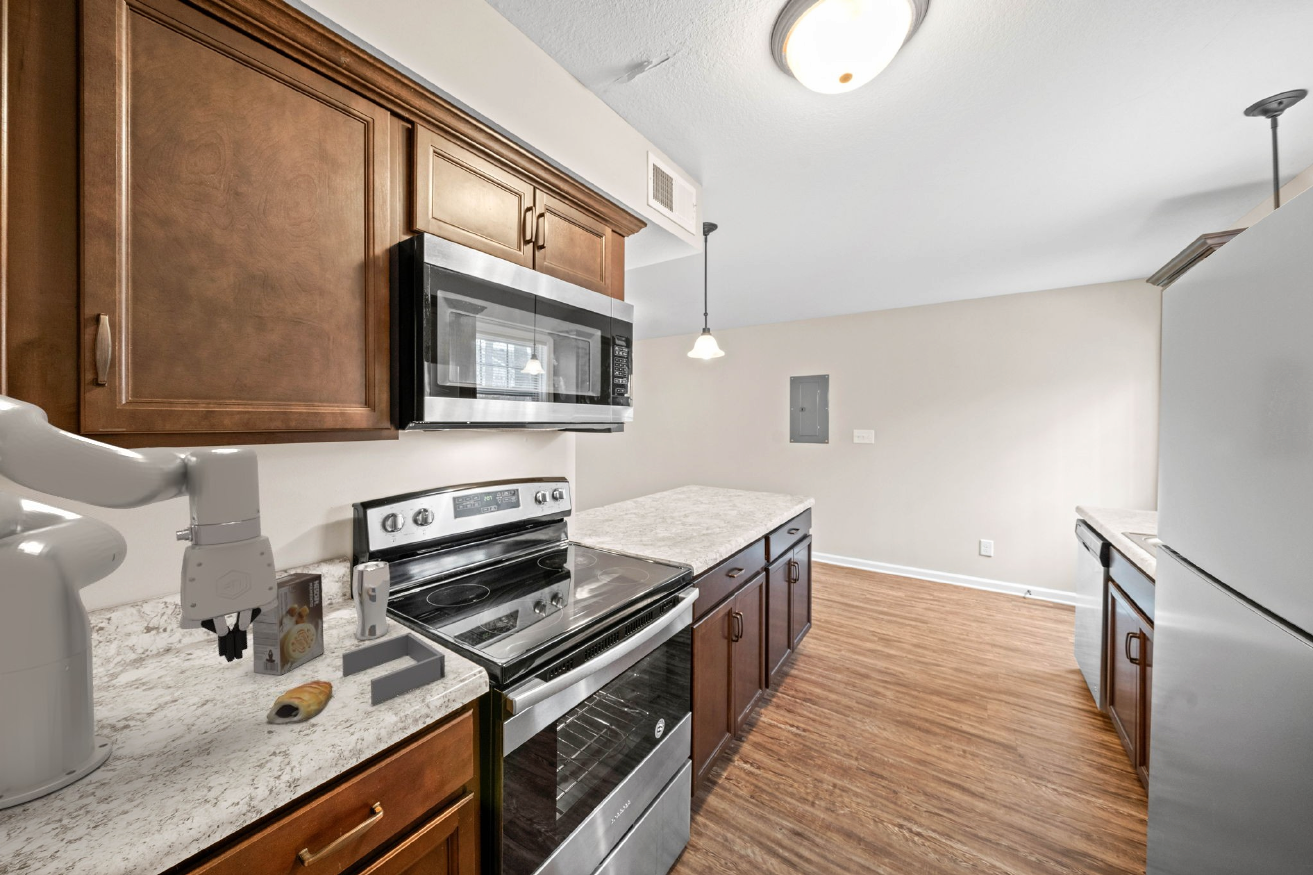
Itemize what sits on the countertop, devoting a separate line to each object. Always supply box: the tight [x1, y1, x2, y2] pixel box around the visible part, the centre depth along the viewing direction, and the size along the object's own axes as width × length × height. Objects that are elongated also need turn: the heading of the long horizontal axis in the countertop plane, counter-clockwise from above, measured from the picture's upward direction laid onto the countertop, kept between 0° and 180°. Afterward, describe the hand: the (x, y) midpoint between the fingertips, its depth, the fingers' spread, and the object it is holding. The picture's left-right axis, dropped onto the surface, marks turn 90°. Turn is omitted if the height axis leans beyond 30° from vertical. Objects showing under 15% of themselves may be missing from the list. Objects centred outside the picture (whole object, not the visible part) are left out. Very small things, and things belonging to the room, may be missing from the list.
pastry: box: [266, 680, 334, 725], centre depth 78 cm, size 9×7×4 cm
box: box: [341, 632, 446, 706], centre depth 87 cm, size 12×15×4 cm
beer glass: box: [352, 560, 391, 641], centre depth 105 cm, size 7×7×15 cm
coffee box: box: [251, 572, 325, 676], centre depth 92 cm, size 9×6×16 cm
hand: (233, 657), depth 70 cm, fingers closed
